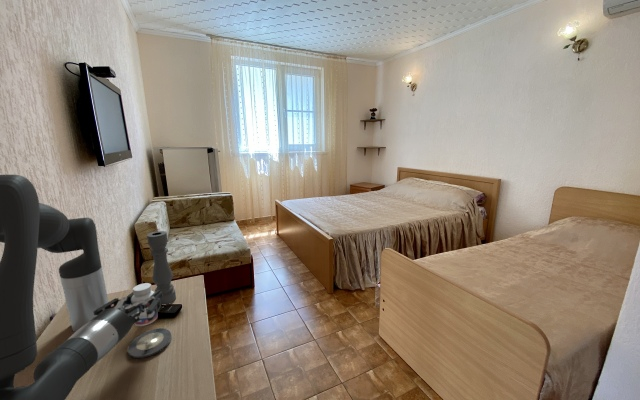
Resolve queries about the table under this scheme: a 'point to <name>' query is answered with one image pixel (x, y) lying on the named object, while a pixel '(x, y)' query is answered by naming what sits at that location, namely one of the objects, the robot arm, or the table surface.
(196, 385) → the table surface
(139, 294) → the pill bottle
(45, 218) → the robot arm
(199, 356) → the table surface
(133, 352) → the small round plate
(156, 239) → the candle holder
